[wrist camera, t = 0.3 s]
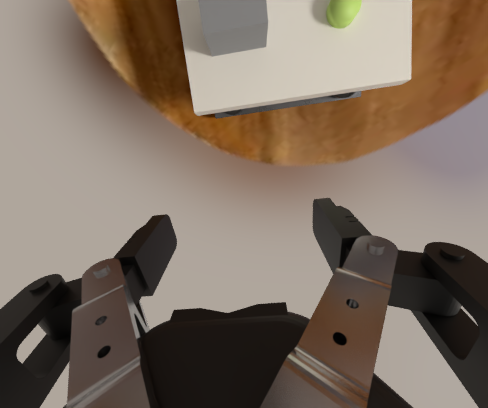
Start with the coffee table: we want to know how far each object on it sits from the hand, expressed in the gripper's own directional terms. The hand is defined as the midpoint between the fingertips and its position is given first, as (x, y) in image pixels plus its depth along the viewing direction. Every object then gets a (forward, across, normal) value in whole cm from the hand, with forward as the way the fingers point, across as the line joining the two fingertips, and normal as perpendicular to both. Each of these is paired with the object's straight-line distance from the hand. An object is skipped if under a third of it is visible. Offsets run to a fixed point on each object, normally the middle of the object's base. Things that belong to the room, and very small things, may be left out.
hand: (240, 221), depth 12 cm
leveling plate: (+20, -7, -12) cm, 25 cm away
